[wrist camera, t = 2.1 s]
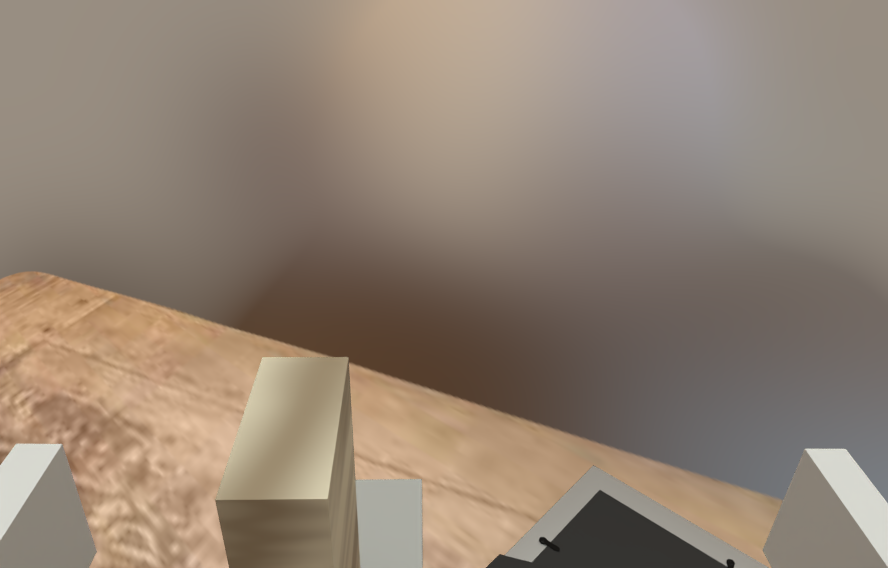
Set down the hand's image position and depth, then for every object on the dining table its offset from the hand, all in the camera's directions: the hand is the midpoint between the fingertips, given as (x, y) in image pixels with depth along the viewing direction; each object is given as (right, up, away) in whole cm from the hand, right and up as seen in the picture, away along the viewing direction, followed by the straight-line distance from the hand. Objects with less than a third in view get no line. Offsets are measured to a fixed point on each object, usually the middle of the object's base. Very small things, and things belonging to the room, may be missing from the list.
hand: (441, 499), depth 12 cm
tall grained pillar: (-6, -17, +21) cm, 27 cm away
